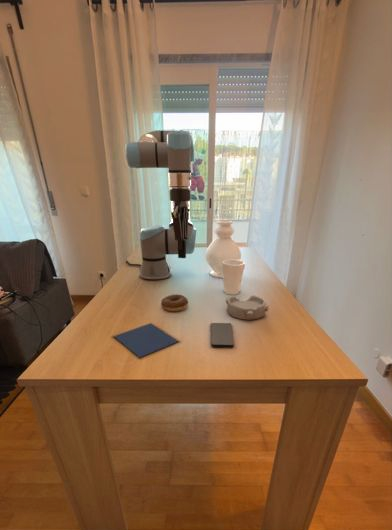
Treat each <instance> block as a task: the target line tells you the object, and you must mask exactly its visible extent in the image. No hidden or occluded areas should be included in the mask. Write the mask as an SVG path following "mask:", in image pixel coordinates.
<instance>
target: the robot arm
mask: <svg viewBox="0 0 392 530" xmlns="http://www.w3.org/2000/svg"><path fill="white" fill-rule="evenodd" d="M194 146H195V145H194V139H193V135H192V133H191V132H190V131H189V130H182V129H179V130H163V129H162V130H161V129H159V130H152V131H149V132H146V133H143V135H141V136H140V137H139V139H138V141H132V142H126V144H125V159H126V163H127V166H128V167H129V168H132V169H168V187H169V190H168V193H169V200H170V208H171V213H170V214H171V221H170V222H169V223H168V228H165V226H164V225H162V224H155V225H150V226H146V227H143V228H141V229H140V231H139V241H140V251H141V260H142V261H141V263H140V264H139V263H130V262H129V260H128V259H126V260H125V264H127V265H129V266H136V267H140V271H139V277H140V279H143V280H146V281H160V280H165V279H168V278H170V277H171V268H170V266H169V264H168V261H167V256H169V255H177V258H178V259H186V258H187V255H192V254H193V253H194V252H195V247H196V237H197V228H195V227H194V224H193V222H191V218H190V217H191V216H190V213H191V212H190V201H191V200H192V189H191V188H190V187H192V180H193V177H192V170H191V167H192V162H194V161H195V150H194V149H195V148H194Z"/></svg>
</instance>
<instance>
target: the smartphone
mask: <svg viewBox="0 0 392 530" xmlns="http://www.w3.org/2000/svg"><path fill="white" fill-rule="evenodd" d="M210 346H211V347H214V348H233V347H234V346H235V343H234V336H233V330H232V323H231V322H211V323H210Z"/></svg>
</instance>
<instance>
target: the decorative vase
mask: <svg viewBox="0 0 392 530" xmlns="http://www.w3.org/2000/svg"><path fill="white" fill-rule="evenodd" d="M216 224H217V226H216V227H215V228H214V230H213V231H214V234H215V235H216V237H215V238H214V239H213V240H212V241H211V242H210V244H209V245H208V247H207V249H206V251H205V255H204V257H205V261H206V263H207V265H208V266H209V267H210V268H211V270H210V272H209V274H210V276H212V277H214V278H215V277H216V278H219V279H221V278H222V279H223V268H222V262H223V261H224V260H228V259H237V260H241V259H242V253H241V250H240V247H239V246H238V243H236V241H235V240H234V239H233V238H232V237H231V236H232V235H234V233H235V228H234V227H233V226H232V224H233V220H229V219H226V220H225V219H222V220H216Z"/></svg>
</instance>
